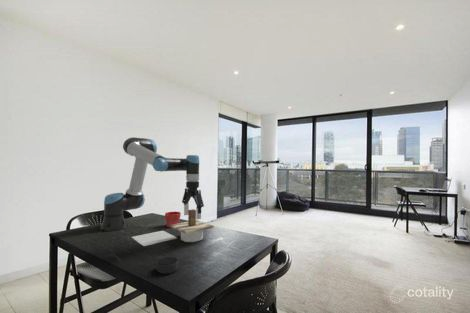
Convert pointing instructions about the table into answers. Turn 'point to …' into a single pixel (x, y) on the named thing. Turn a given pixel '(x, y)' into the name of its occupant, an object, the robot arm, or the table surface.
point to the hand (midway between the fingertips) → (192, 216)
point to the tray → (153, 238)
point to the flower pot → (172, 218)
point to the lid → (191, 224)
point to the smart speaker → (167, 265)
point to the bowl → (192, 236)
